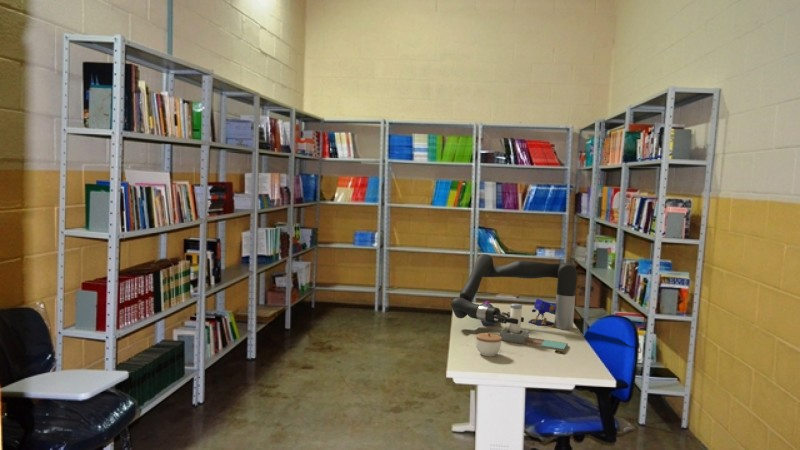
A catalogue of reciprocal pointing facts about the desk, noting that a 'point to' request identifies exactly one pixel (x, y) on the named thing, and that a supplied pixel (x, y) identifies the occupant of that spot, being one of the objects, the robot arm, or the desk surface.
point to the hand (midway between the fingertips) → (520, 320)
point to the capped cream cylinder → (515, 314)
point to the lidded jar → (488, 343)
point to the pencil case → (484, 321)
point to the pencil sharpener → (543, 308)
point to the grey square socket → (514, 336)
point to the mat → (554, 344)
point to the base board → (538, 344)
